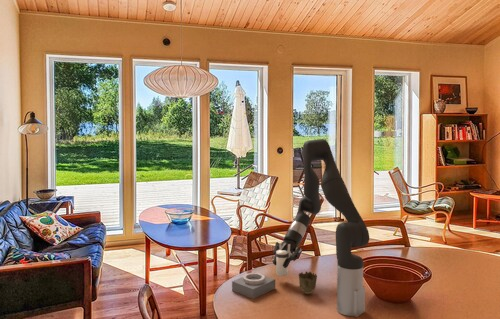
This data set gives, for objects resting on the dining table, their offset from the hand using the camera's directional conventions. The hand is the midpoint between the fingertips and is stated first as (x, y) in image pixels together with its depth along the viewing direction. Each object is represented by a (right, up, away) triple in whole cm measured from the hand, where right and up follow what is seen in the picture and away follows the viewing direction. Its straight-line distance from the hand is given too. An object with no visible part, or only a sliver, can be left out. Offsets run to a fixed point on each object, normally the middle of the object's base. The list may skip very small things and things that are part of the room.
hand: (279, 265), depth 166 cm
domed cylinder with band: (+1, -4, +2) cm, 5 cm away
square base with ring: (-11, -8, -7) cm, 16 cm away
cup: (+11, -9, -11) cm, 18 cm away
